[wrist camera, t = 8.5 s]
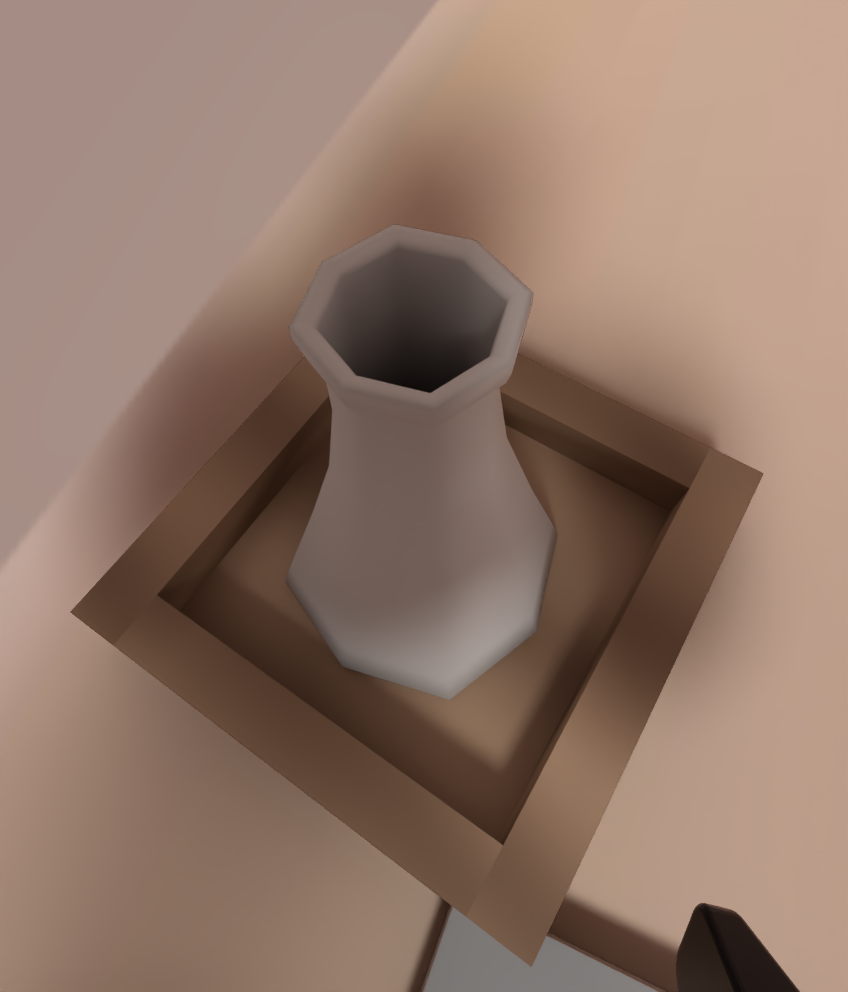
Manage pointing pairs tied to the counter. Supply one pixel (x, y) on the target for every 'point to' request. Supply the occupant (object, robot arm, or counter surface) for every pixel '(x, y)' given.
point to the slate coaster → (518, 965)
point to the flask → (419, 464)
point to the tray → (487, 700)
